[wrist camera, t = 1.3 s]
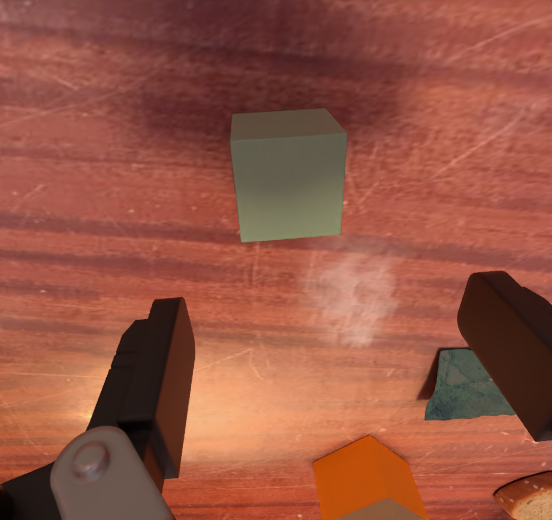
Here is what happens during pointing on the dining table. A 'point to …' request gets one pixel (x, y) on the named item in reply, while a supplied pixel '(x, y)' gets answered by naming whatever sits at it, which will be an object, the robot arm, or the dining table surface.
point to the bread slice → (528, 498)
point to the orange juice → (367, 484)
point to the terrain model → (464, 389)
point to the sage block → (288, 173)
